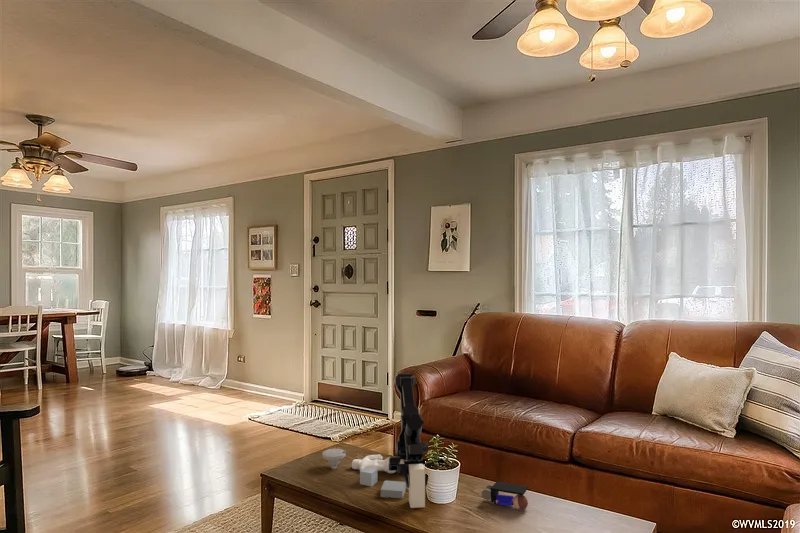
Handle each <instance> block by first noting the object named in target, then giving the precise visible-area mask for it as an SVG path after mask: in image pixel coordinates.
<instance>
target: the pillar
mask: <svg viewBox="0 0 800 533" xmlns="http://www.w3.org/2000/svg"><path fill="white" fill-rule="evenodd" d="M408 480H409V488H408V503H409V507H410V509H415V508H426V487H425V465H423V464H409V473H408Z"/></svg>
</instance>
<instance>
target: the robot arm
mask: <svg viewBox="0 0 800 533" xmlns="http://www.w3.org/2000/svg"><path fill="white" fill-rule="evenodd" d="M394 385H395V386H396V387H395V388H396V391H397V392H398V393H399V395H400V396H399V399H400V425H401V426H400V427H401V431H400V433H399V434H398V437H397V441H396V446H395V453H396V456H389V457H390V458H389V457H388V458H389V463H388V466H389V470H390V471H396V470H397V471H396V473H399V474H400V476H401V477H402V479H403V480H404V481H403V482H405V483H406V488H407V489H409V464H423V466H425V465H424V464H425V461H426V462H427V461H428V459H429V458H424V453H425V452H429V442H428V441H422V440H421V434H422V430H423V429H422V428H423V424H424V423H425V422H424V418H423V417H422V415H421V414H420V410H419V408H418V407H417V406H416V404H415V397H414V390H413V389H414V386H415V385H416V376H415V375H413V374H412V372H401V373H400V372H399V373H398V372H397V375H394ZM421 441H422V442H421ZM432 465H434V463H426V466H425V467H431V466H432ZM428 481H429V476H428V475H427V474H425V488H427V486H428Z"/></svg>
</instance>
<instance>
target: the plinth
mask: <svg viewBox="0 0 800 533" xmlns="http://www.w3.org/2000/svg"><path fill="white" fill-rule="evenodd" d="M406 489H407V485H406V483H405V481H395V480H384V481H383V484H382V486H381V487H380V497H381V498H389V497H390V498H392V499H403V498H404V495H405V493H406ZM390 498H389V499H390Z"/></svg>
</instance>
